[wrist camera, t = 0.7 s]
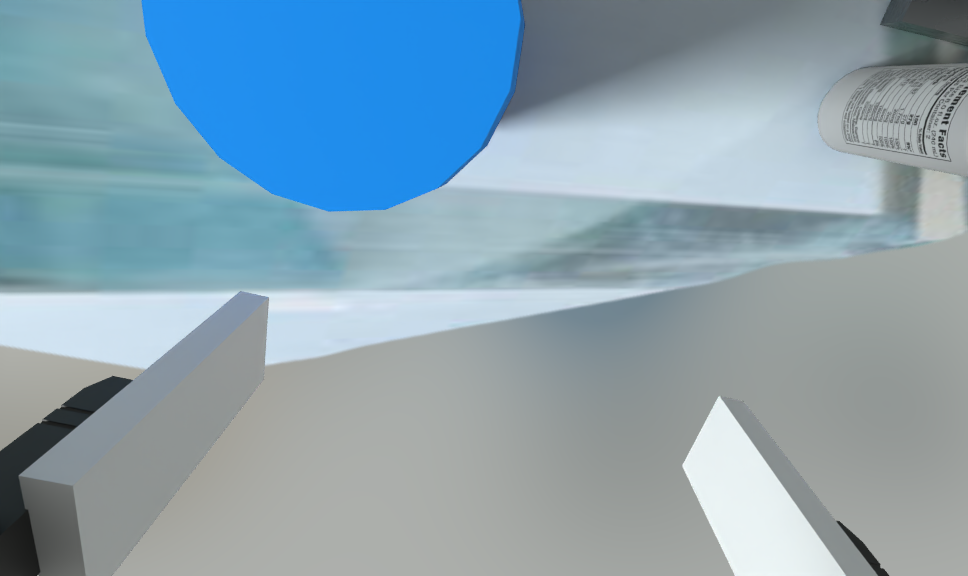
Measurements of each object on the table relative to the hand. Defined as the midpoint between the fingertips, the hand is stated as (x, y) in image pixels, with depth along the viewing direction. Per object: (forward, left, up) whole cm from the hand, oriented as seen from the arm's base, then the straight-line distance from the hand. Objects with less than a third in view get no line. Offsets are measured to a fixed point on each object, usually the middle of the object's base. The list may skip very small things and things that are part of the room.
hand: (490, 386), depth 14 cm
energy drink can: (-12, +26, -28) cm, 40 cm away
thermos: (-8, -6, -28) cm, 30 cm away
